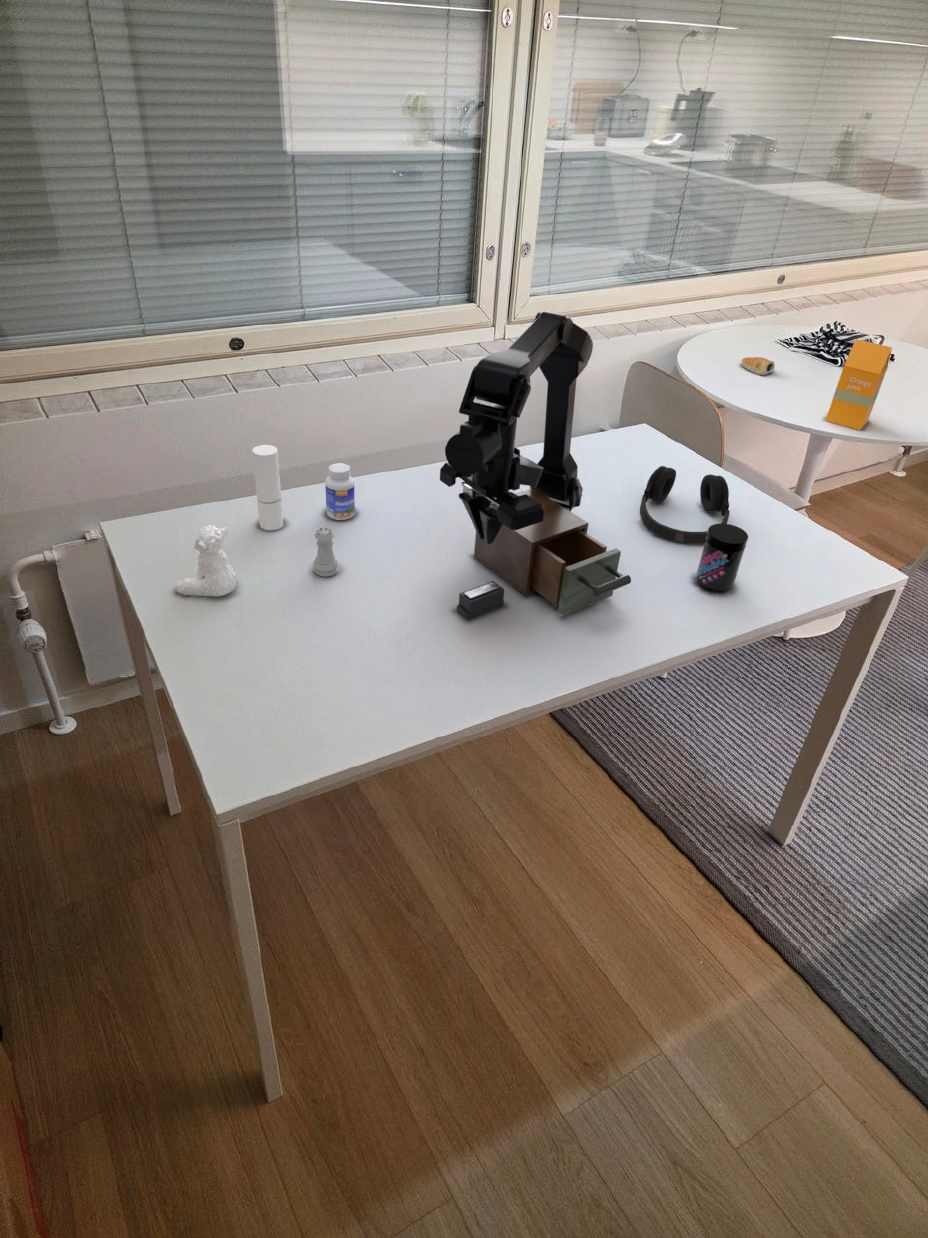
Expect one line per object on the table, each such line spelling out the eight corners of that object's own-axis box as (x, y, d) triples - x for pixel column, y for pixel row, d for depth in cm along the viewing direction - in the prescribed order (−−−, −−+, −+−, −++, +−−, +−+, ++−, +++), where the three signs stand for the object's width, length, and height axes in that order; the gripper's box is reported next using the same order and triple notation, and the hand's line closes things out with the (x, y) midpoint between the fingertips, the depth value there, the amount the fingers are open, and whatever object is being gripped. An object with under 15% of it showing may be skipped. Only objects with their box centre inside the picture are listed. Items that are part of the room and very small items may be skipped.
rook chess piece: (343, 567, 145) (342, 527, 140) (332, 580, 141) (330, 539, 136) (320, 561, 146) (318, 521, 141) (308, 574, 142) (305, 533, 137)
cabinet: (580, 575, 147) (588, 522, 141) (525, 596, 141) (532, 542, 134) (527, 538, 156) (533, 487, 150) (473, 557, 150) (477, 505, 144)
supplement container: (691, 571, 150) (705, 521, 144) (729, 575, 150) (744, 525, 144) (697, 593, 145) (711, 541, 139) (736, 596, 145) (752, 545, 138)
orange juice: (833, 411, 218) (859, 335, 206) (868, 421, 214) (896, 343, 202) (825, 420, 213) (851, 342, 201) (860, 430, 209) (888, 351, 197)
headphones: (735, 470, 167) (730, 530, 153) (726, 500, 172) (720, 561, 158) (651, 456, 170) (638, 514, 156) (644, 486, 175) (631, 544, 162)
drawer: (633, 610, 138) (643, 565, 133) (583, 632, 132) (591, 586, 127) (559, 558, 149) (565, 515, 144) (510, 577, 144) (515, 533, 138)
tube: (278, 531, 153) (271, 456, 144) (256, 528, 153) (248, 453, 145) (286, 520, 156) (281, 446, 147) (265, 517, 157) (258, 443, 148)
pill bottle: (337, 523, 156) (335, 476, 151) (321, 512, 160) (318, 465, 154) (360, 515, 159) (359, 469, 154) (344, 504, 163) (343, 458, 157)
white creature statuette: (214, 566, 142) (205, 504, 135) (254, 581, 139) (247, 519, 132) (174, 593, 135) (162, 529, 128) (215, 609, 133) (206, 545, 125)
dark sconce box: (492, 597, 140) (494, 578, 138) (503, 606, 138) (505, 587, 136) (456, 610, 136) (457, 592, 134) (467, 620, 134) (468, 601, 132)
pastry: (735, 366, 243) (738, 353, 240) (748, 362, 246) (751, 349, 244) (762, 376, 237) (766, 363, 235) (775, 372, 241) (779, 359, 239)
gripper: (579, 460, 118) (564, 554, 128) (498, 414, 130) (490, 503, 139) (518, 478, 113) (508, 574, 122) (439, 428, 124) (435, 520, 134)
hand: (486, 540), depth 129 cm, fingers closed
